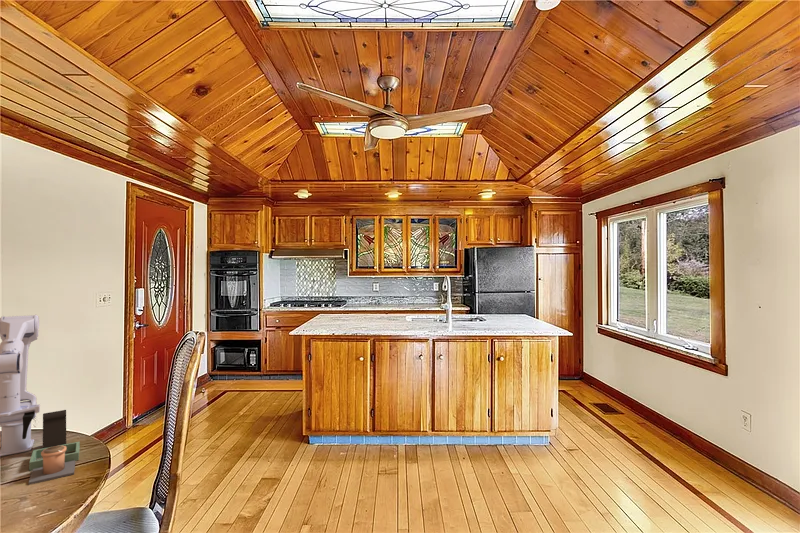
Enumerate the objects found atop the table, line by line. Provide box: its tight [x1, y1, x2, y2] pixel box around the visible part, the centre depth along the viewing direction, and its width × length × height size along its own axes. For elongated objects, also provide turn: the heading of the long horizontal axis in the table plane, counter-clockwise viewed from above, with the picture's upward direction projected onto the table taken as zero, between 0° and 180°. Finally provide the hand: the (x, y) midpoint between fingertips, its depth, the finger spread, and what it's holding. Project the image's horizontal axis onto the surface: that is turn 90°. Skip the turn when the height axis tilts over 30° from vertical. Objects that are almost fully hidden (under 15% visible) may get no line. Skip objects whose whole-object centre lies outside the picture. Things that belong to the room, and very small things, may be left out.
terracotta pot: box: [41, 446, 67, 474], centre depth 123 cm, size 6×6×6 cm
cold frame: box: [28, 441, 81, 472], centre depth 131 cm, size 10×12×2 cm
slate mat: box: [28, 460, 76, 485], centre depth 123 cm, size 9×10×1 cm
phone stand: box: [42, 409, 67, 449], centre depth 139 cm, size 9×6×12 cm, turn 40°
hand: (6, 441), depth 122 cm, fingers open, 7 cm apart
